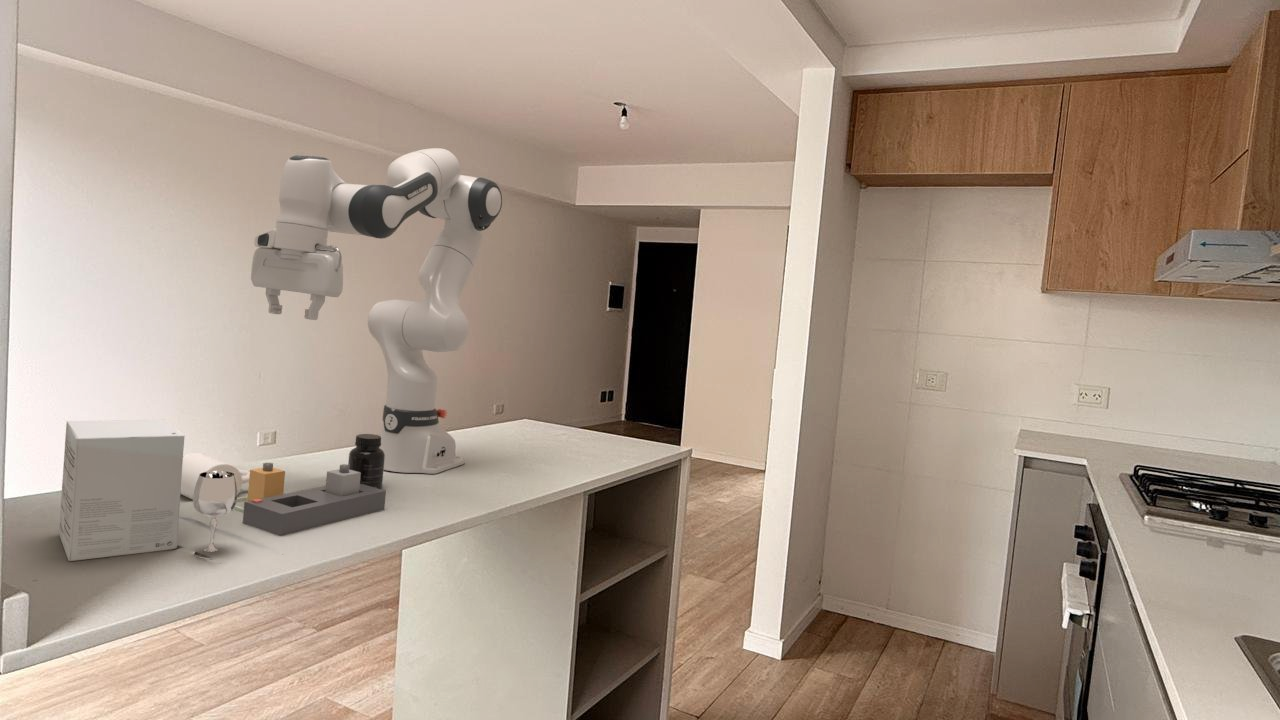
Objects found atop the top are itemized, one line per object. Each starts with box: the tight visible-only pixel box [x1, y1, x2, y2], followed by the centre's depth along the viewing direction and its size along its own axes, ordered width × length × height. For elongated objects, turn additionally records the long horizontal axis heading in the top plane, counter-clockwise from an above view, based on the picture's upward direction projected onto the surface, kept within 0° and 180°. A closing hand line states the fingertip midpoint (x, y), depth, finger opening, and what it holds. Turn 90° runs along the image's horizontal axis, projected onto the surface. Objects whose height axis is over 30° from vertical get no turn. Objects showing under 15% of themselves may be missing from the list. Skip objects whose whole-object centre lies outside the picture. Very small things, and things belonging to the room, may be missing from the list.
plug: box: [247, 462, 286, 501], centre depth 134 cm, size 4×4×8 cm
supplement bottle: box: [347, 433, 385, 490], centre depth 152 cm, size 7×7×12 cm
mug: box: [180, 452, 250, 501], centre depth 139 cm, size 12×10×8 cm
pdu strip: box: [242, 484, 387, 537], centre depth 132 cm, size 22×9×5 cm, turn 154°
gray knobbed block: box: [325, 463, 361, 497], centre depth 136 cm, size 4×4×8 cm
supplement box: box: [58, 418, 186, 562], centre depth 113 cm, size 13×13×18 cm
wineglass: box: [192, 471, 238, 559], centre depth 113 cm, size 6×6×12 cm
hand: (292, 316), depth 141 cm, fingers open, 8 cm apart
